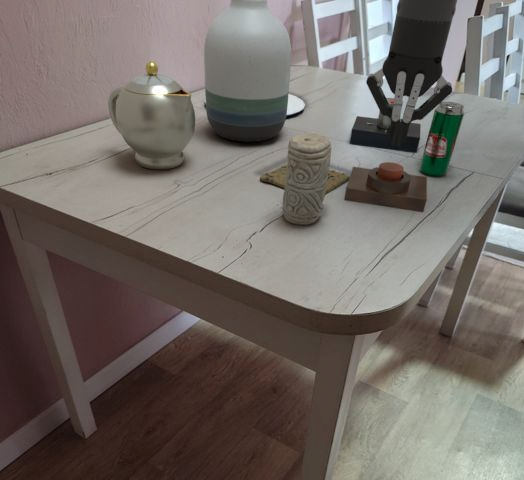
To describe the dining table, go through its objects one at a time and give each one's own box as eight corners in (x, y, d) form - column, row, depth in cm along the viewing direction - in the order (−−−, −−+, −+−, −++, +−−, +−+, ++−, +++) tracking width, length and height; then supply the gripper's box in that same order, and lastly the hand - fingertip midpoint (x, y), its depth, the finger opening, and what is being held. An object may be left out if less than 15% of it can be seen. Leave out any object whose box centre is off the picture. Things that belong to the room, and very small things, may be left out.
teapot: (214, 159, 93) (212, 61, 82) (171, 183, 83) (163, 76, 73) (138, 141, 98) (127, 47, 88) (90, 161, 89) (72, 58, 78)
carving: (278, 226, 73) (284, 144, 65) (285, 205, 79) (291, 127, 71) (319, 232, 73) (331, 149, 65) (324, 210, 78) (335, 132, 70)
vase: (230, 118, 113) (230, -11, 97) (297, 131, 108) (309, -2, 92) (191, 138, 101) (184, -4, 85) (264, 154, 96) (271, 6, 80)
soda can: (413, 171, 93) (431, 103, 85) (427, 165, 96) (445, 99, 88) (437, 180, 90) (457, 110, 82) (450, 173, 93) (471, 105, 85)
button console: (423, 188, 87) (429, 166, 84) (423, 212, 79) (429, 188, 77) (350, 178, 89) (354, 156, 86) (344, 200, 81) (348, 177, 79)
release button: (401, 174, 82) (404, 164, 81) (400, 183, 79) (403, 172, 78) (377, 171, 82) (380, 160, 81) (376, 179, 79) (378, 169, 78)
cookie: (316, 200, 81) (316, 194, 80) (257, 180, 86) (258, 174, 85) (351, 179, 88) (352, 174, 87) (295, 162, 93) (296, 157, 93)
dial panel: (417, 138, 108) (420, 122, 106) (416, 152, 101) (420, 136, 99) (354, 130, 111) (357, 115, 109) (349, 143, 103) (352, 128, 101)
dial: (377, 122, 106) (382, 95, 102) (397, 124, 105) (403, 97, 102) (376, 128, 102) (381, 100, 99) (397, 130, 102) (403, 102, 98)
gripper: (473, 15, 68) (437, 143, 79) (377, 6, 70) (356, 132, 81) (477, 22, 62) (437, 159, 74) (373, 12, 64) (350, 147, 76)
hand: (394, 145), depth 77 cm, fingers closed
